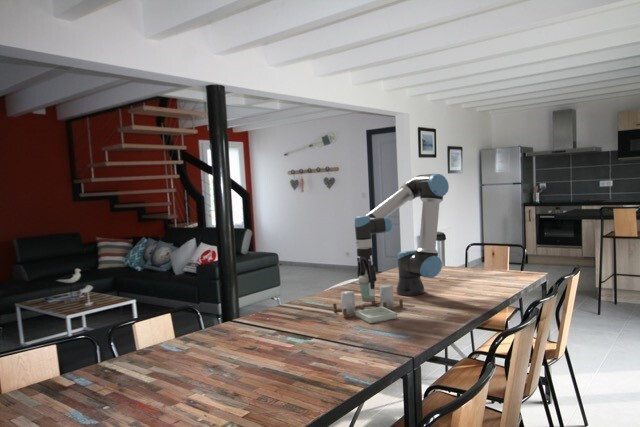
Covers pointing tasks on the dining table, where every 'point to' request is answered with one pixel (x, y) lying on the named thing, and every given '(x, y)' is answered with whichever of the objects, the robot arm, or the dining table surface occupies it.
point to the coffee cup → (365, 288)
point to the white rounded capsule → (348, 302)
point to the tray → (376, 314)
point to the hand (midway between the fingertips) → (367, 293)
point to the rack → (365, 306)
